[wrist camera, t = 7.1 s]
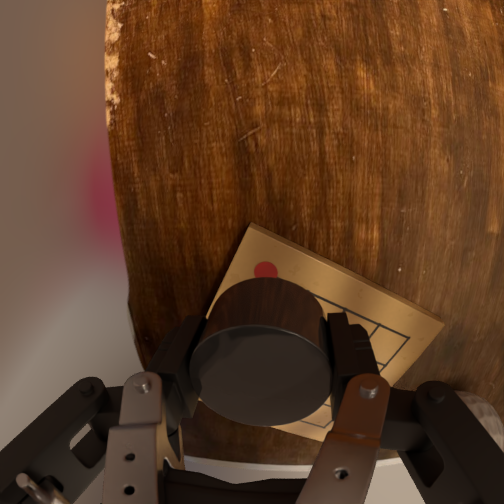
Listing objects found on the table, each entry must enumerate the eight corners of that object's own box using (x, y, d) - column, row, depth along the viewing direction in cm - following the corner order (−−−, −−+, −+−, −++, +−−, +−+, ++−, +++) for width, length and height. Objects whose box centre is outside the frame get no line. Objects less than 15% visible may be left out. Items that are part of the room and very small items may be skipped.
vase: (394, 395, 32) (422, 511, 17) (483, 357, 29) (537, 454, 14) (402, 442, 36) (420, 534, 21) (476, 411, 33) (509, 494, 18)
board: (175, 380, 35) (172, 388, 33) (250, 221, 27) (248, 226, 25) (329, 435, 36) (330, 444, 35) (440, 316, 28) (445, 325, 26)
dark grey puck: (194, 345, 13) (172, 396, 10) (237, 255, 11) (217, 299, 8) (291, 385, 13) (288, 439, 10) (349, 307, 12) (364, 361, 9)
